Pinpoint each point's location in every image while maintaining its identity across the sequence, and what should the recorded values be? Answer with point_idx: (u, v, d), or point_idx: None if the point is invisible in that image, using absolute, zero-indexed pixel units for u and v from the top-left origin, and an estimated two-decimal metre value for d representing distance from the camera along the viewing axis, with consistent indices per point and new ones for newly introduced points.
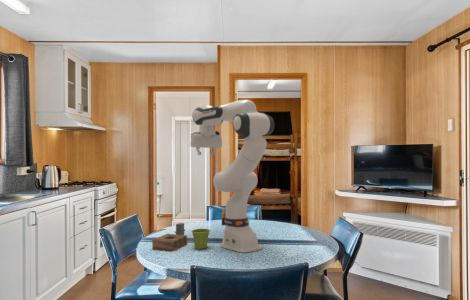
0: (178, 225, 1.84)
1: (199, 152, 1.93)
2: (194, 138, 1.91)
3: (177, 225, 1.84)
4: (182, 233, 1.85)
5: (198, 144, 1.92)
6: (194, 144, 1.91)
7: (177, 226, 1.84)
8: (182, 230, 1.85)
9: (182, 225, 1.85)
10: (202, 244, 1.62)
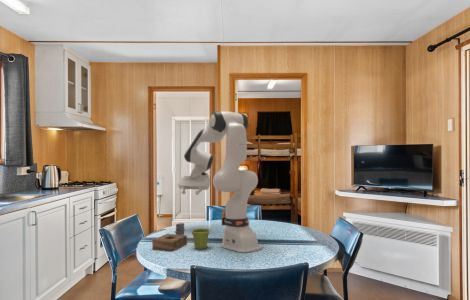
0: (178, 225, 1.84)
1: None
2: (181, 179, 2.06)
3: (177, 225, 1.84)
4: (182, 233, 1.85)
5: (182, 184, 2.03)
6: (179, 183, 2.04)
7: (177, 226, 1.84)
8: (182, 230, 1.85)
9: (182, 225, 1.85)
10: (202, 244, 1.62)
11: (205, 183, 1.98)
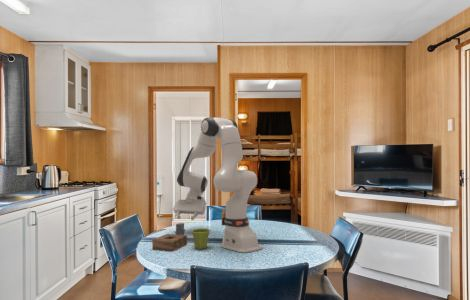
0: (178, 225, 1.84)
1: (177, 215, 1.94)
2: (176, 203, 2.00)
3: (177, 225, 1.84)
4: (182, 233, 1.85)
5: (177, 208, 1.97)
6: (174, 208, 1.98)
7: (177, 226, 1.84)
8: (182, 230, 1.85)
9: (182, 225, 1.85)
10: (202, 244, 1.62)
11: (201, 208, 1.92)
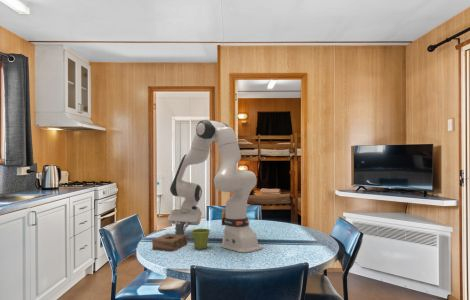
0: (178, 225, 1.84)
1: (175, 226, 1.87)
2: (171, 213, 1.94)
3: (177, 225, 1.84)
4: (182, 233, 1.85)
5: (172, 218, 1.90)
6: (168, 218, 1.91)
7: (177, 226, 1.84)
8: None
9: (182, 225, 1.85)
10: (202, 244, 1.62)
11: (196, 218, 1.86)
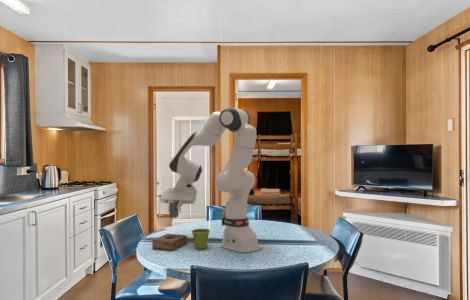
0: (171, 203, 1.72)
1: None
2: (164, 192, 1.82)
3: (170, 203, 1.72)
4: (176, 212, 1.73)
5: (165, 197, 1.79)
6: (162, 197, 1.79)
7: (170, 204, 1.72)
8: None
9: (176, 203, 1.74)
10: (202, 244, 1.62)
11: (190, 196, 1.74)
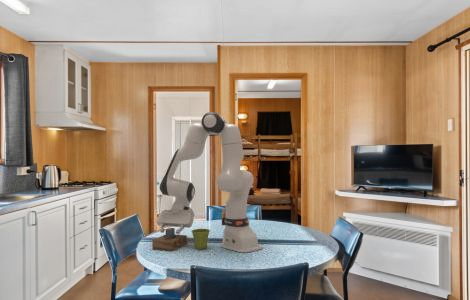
0: (168, 230, 1.66)
1: (161, 228, 1.69)
2: (160, 214, 1.75)
3: (167, 230, 1.66)
4: None
5: (161, 220, 1.72)
6: (157, 219, 1.73)
7: (167, 231, 1.66)
8: (172, 236, 1.67)
9: (172, 230, 1.67)
10: (202, 244, 1.62)
11: (187, 220, 1.67)
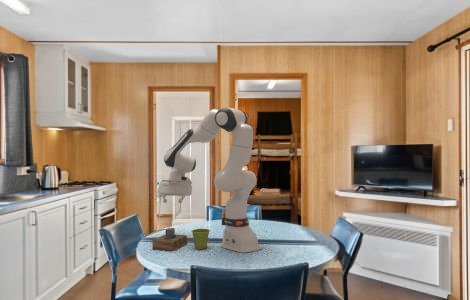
0: (168, 230, 1.66)
1: (163, 199, 1.84)
2: (160, 185, 1.88)
3: (167, 230, 1.66)
4: None
5: (162, 191, 1.86)
6: (158, 191, 1.86)
7: (167, 231, 1.66)
8: (172, 236, 1.67)
9: (172, 230, 1.67)
10: (202, 244, 1.62)
11: (187, 190, 1.82)
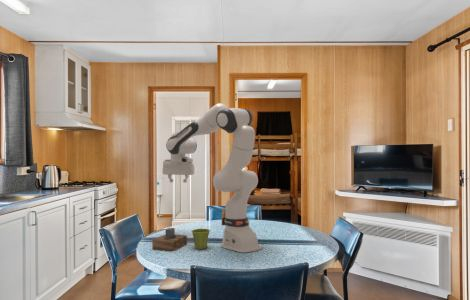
0: (168, 230, 1.66)
1: None
2: (163, 166, 1.97)
3: (167, 230, 1.66)
4: None
5: (167, 172, 1.96)
6: (163, 172, 1.97)
7: (167, 231, 1.66)
8: (172, 236, 1.67)
9: (172, 230, 1.67)
10: (202, 244, 1.62)
11: (189, 171, 1.91)
